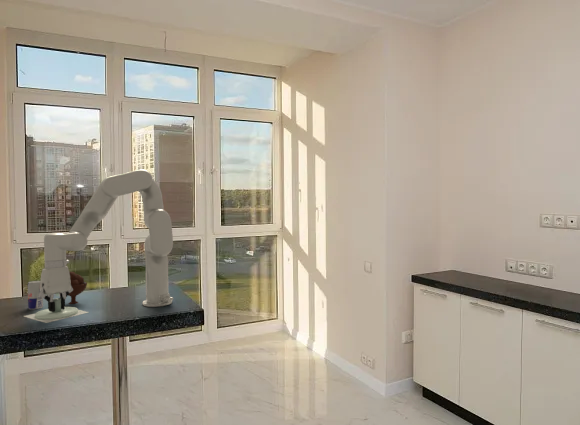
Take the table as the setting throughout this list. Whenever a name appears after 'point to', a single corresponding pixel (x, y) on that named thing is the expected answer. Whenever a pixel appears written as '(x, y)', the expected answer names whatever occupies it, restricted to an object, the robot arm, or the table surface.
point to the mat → (53, 319)
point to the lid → (56, 311)
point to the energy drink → (34, 295)
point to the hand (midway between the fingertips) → (56, 309)
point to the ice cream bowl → (76, 286)
